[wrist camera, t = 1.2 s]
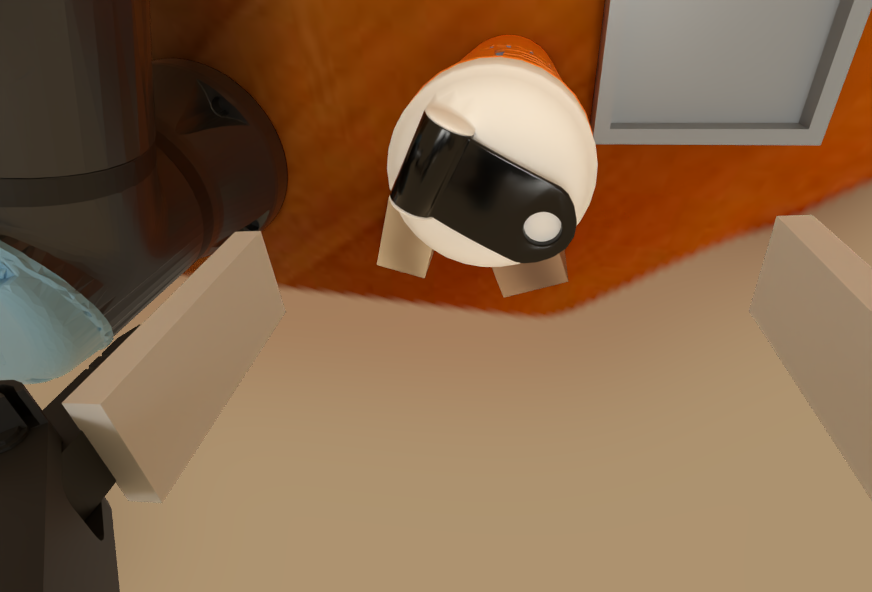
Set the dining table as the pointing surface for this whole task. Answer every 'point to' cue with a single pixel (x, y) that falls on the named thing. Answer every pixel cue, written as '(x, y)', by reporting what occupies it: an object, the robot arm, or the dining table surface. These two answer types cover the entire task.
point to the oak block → (402, 246)
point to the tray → (722, 70)
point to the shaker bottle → (494, 158)
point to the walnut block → (531, 275)
